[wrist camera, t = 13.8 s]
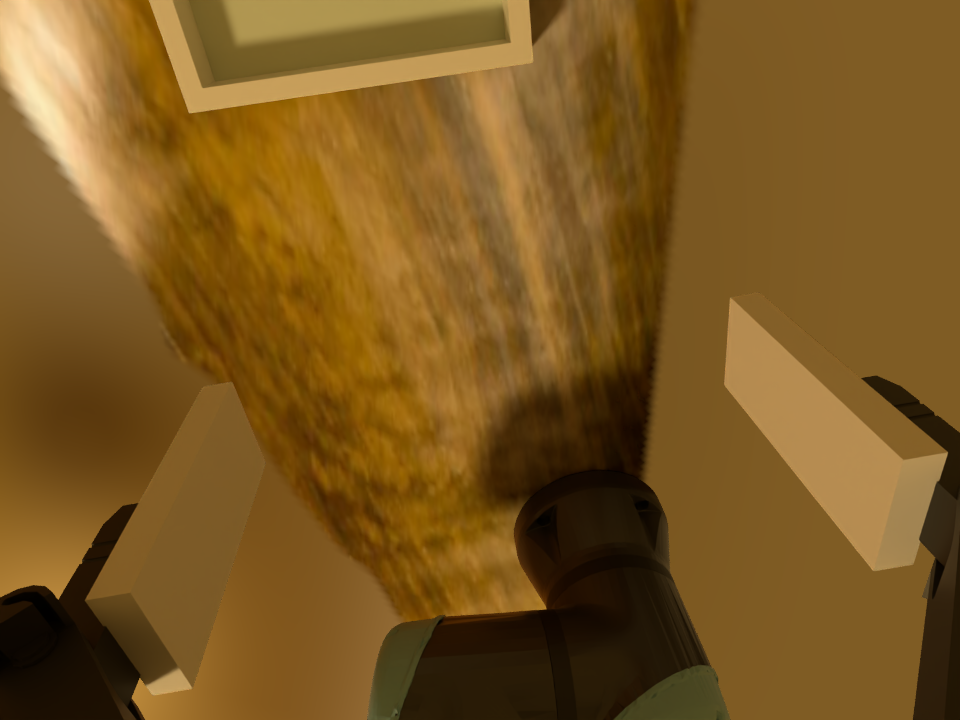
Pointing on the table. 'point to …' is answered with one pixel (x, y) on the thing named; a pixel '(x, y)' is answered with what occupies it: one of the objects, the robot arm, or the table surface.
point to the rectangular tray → (332, 44)
